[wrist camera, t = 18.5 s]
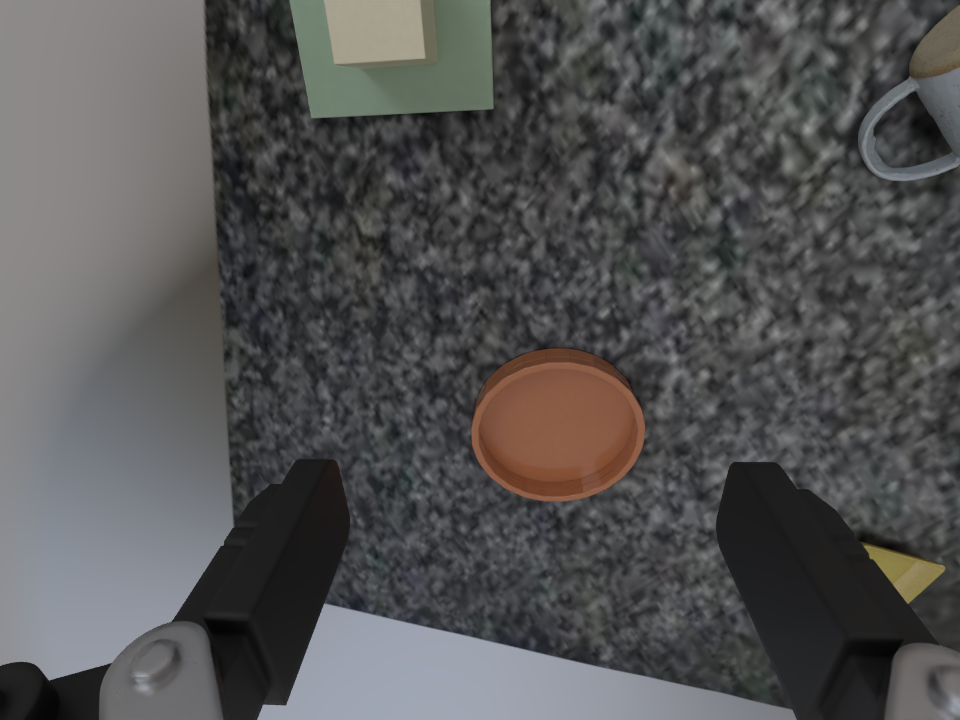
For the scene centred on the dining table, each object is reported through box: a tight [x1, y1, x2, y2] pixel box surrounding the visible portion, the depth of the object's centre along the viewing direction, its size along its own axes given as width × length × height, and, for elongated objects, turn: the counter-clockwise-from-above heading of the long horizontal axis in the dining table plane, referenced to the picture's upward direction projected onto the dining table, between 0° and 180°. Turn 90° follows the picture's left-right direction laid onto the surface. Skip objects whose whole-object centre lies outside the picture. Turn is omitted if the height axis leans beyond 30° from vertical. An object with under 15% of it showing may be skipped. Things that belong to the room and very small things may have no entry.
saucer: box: [861, 542, 945, 604], centre depth 48 cm, size 9×9×2 cm
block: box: [324, 0, 438, 69], centre depth 27 cm, size 5×5×5 cm
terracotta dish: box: [471, 348, 645, 501], centre depth 42 cm, size 14×14×2 cm
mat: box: [289, 0, 494, 118], centre depth 30 cm, size 12×10×1 cm
